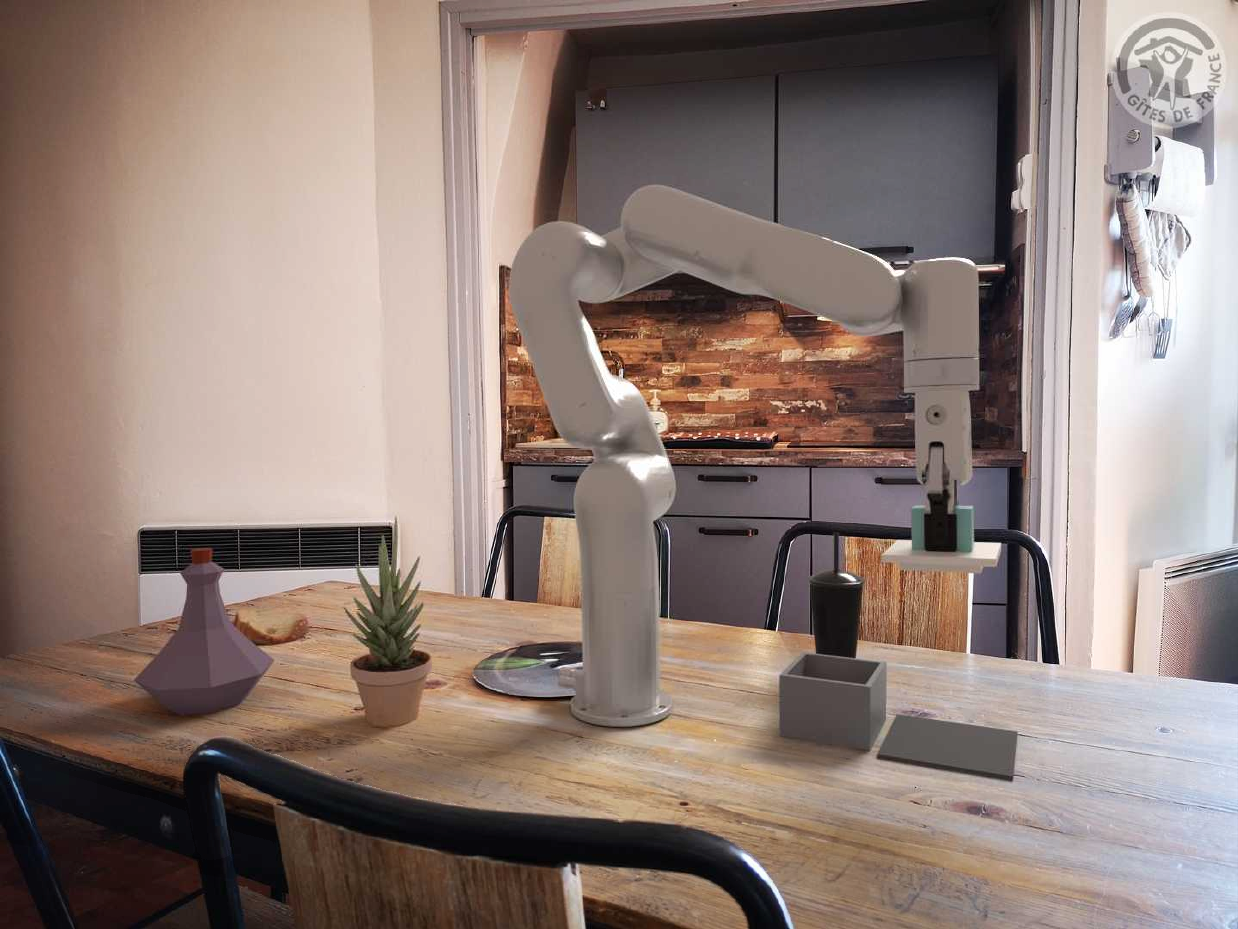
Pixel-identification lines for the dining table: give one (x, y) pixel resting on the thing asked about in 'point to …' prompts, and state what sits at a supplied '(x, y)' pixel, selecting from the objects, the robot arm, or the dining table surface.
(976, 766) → the mat
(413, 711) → the potted plant
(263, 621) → the slice of bread
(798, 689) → the storage box
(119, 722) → the dining table surface
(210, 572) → the flask
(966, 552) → the lid
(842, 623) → the drinking cup
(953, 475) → the robot arm
